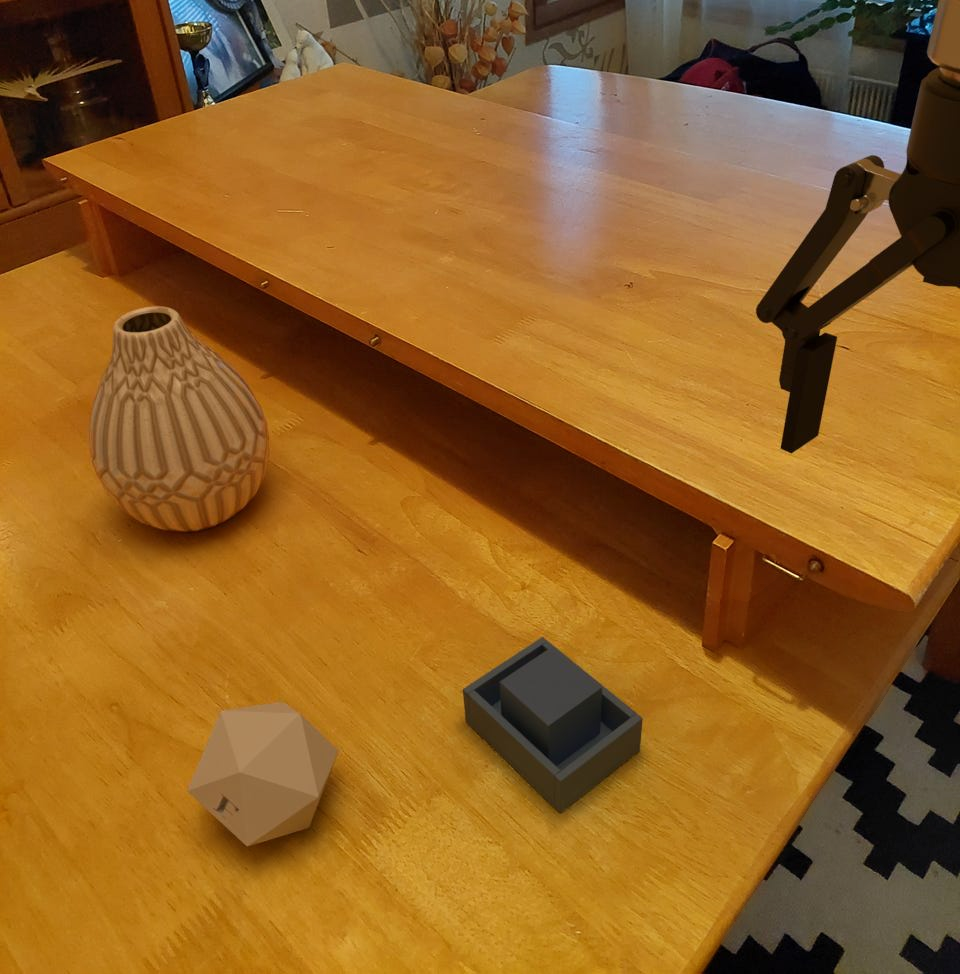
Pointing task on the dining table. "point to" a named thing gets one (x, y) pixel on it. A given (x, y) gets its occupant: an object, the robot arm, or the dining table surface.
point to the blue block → (552, 705)
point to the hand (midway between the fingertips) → (908, 491)
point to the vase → (175, 426)
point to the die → (263, 771)
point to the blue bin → (549, 780)
